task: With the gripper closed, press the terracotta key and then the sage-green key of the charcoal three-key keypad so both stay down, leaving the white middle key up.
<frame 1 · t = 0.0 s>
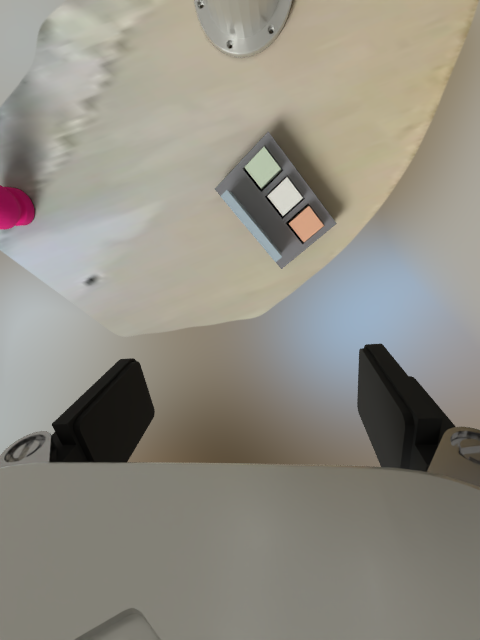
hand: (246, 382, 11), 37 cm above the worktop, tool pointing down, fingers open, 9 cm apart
pepper mill: (19, 206, 48), on the worktop
white key: (284, 197, 39), point 3 cm above the worktop, slide at 0.0 cm
sage key: (262, 169, 38), point 3 cm above the worktop, slide at 0.0 cm
keypad: (284, 198, 42), on the worktop
terracotta key: (305, 224, 40), point 3 cm above the worktop, slide at 0.0 cm
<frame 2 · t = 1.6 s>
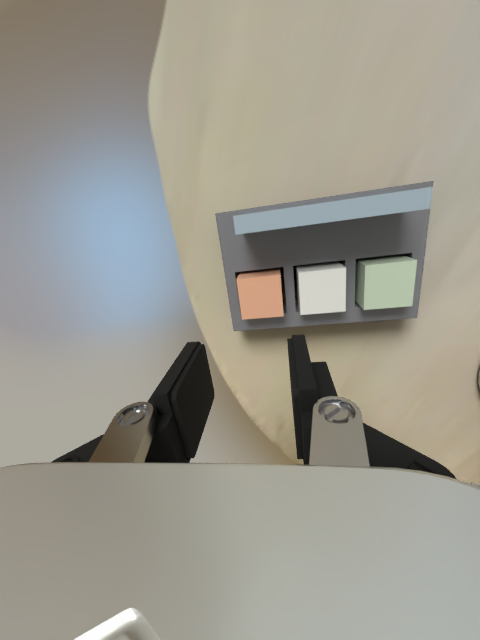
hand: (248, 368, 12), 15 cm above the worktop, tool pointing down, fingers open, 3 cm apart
white key: (319, 287, 22), point 3 cm above the worktop, slide at 0.0 cm
sage key: (382, 281, 22), point 3 cm above the worktop, slide at 0.0 cm
keypad: (314, 279, 25), on the worktop
terracotta key: (261, 293, 23), point 3 cm above the worktop, slide at 0.0 cm
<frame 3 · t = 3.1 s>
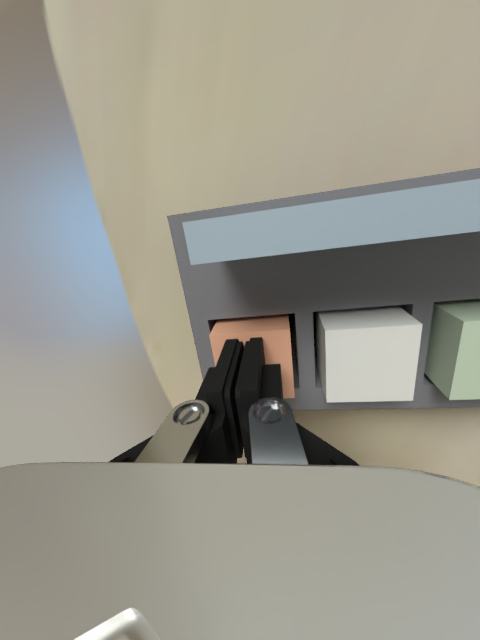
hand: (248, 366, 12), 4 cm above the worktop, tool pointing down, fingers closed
white key: (360, 349, 12), point 3 cm above the worktop, slide at 0.0 cm
keypad: (345, 324, 15), on the worktop
terracotta key: (255, 351, 14), point 3 cm above the worktop, slide at 0.4 cm, touching gripper
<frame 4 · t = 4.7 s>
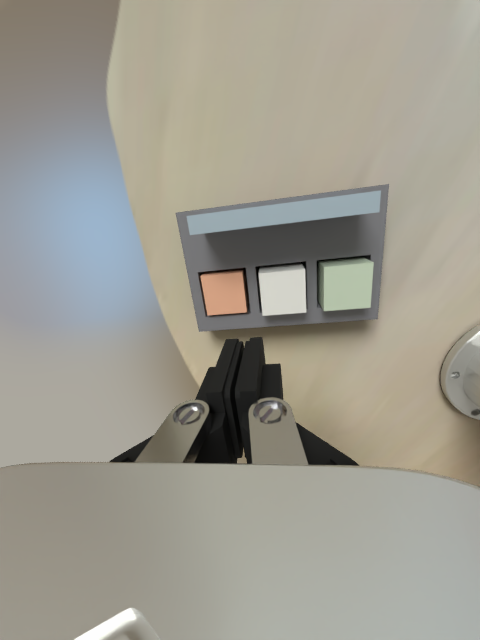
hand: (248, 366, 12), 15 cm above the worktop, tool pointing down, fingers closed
white key: (281, 288, 22), point 3 cm above the worktop, slide at 0.0 cm
sage key: (342, 282, 22), point 3 cm above the worktop, slide at 0.0 cm
keypad: (280, 279, 25), on the worktop
terracotta key: (226, 289, 24), point 2 cm above the worktop, slide at 1.1 cm
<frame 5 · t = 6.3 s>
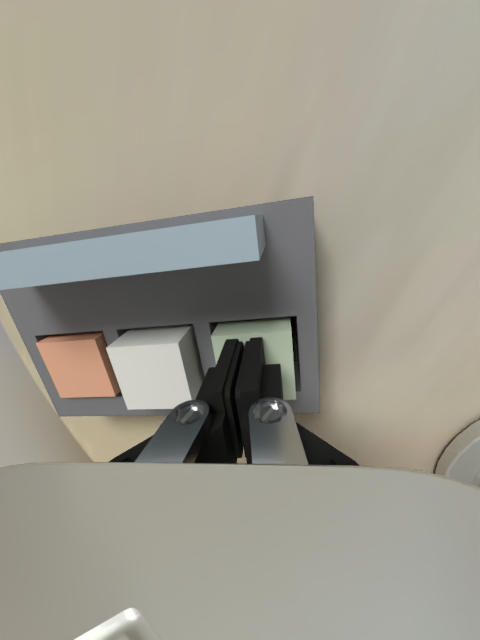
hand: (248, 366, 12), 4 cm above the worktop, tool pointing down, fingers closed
white key: (163, 362, 14), point 3 cm above the worktop, slide at 0.0 cm
sage key: (257, 353, 14), point 3 cm above the worktop, slide at 0.5 cm, touching gripper
keypad: (182, 338, 17), on the worktop
terracotta key: (94, 356, 16), point 2 cm above the worktop, slide at 1.1 cm
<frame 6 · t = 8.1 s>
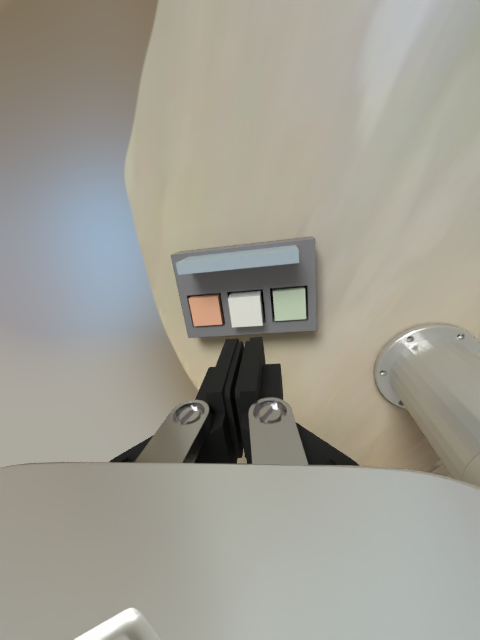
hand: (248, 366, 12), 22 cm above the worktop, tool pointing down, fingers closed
white key: (246, 307, 31), point 3 cm above the worktop, slide at 0.0 cm
sage key: (289, 301, 31), point 2 cm above the worktop, slide at 1.1 cm
keypad: (249, 300, 34), on the worktop
terracotta key: (208, 307, 33), point 2 cm above the worktop, slide at 1.1 cm
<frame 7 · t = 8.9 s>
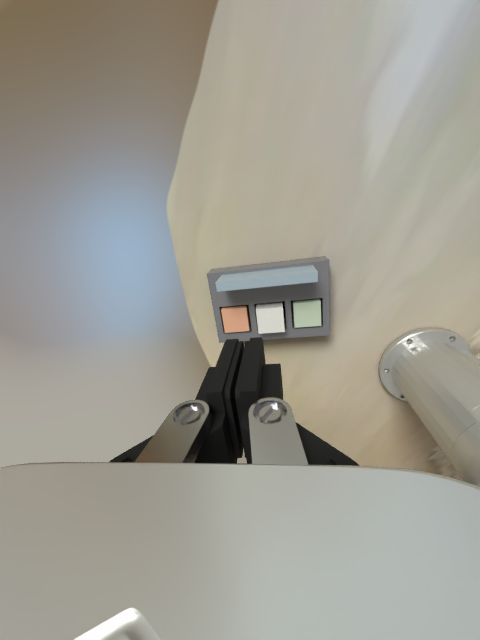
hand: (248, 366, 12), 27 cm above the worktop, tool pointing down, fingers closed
white key: (270, 316, 37), point 3 cm above the worktop, slide at 0.0 cm
sage key: (306, 310, 37), point 2 cm above the worktop, slide at 1.1 cm
keypad: (270, 309, 40), on the worktop
terracotta key: (236, 316, 39), point 2 cm above the worktop, slide at 1.1 cm
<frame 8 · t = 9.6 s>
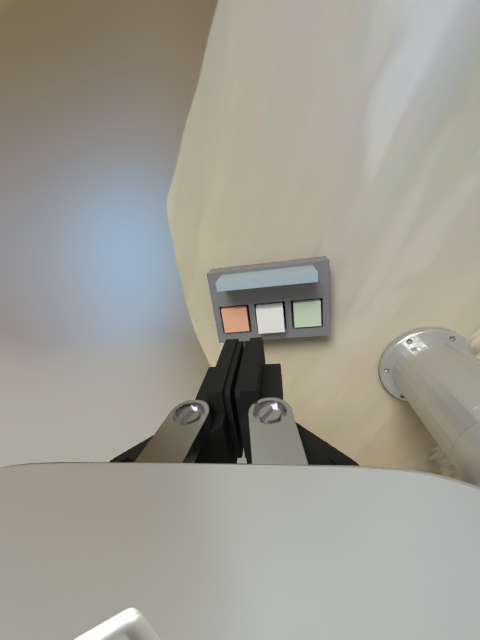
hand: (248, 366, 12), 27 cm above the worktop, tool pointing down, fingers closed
white key: (270, 316, 37), point 3 cm above the worktop, slide at 0.0 cm
sage key: (306, 310, 37), point 2 cm above the worktop, slide at 1.1 cm
keypad: (270, 309, 40), on the worktop
terracotta key: (236, 316, 39), point 2 cm above the worktop, slide at 1.1 cm
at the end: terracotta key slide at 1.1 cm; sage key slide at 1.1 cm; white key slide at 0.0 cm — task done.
